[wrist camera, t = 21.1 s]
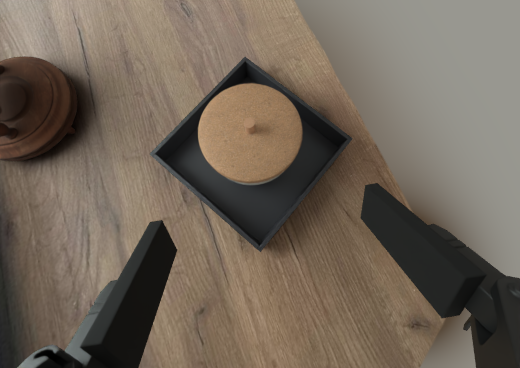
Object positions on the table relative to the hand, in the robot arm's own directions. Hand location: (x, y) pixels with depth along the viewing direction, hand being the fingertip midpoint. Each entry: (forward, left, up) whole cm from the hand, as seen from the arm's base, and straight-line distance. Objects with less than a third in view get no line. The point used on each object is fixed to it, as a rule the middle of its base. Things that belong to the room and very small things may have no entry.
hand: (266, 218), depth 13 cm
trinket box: (+7, -6, -14) cm, 16 cm away
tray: (+7, -6, -14) cm, 17 cm away
